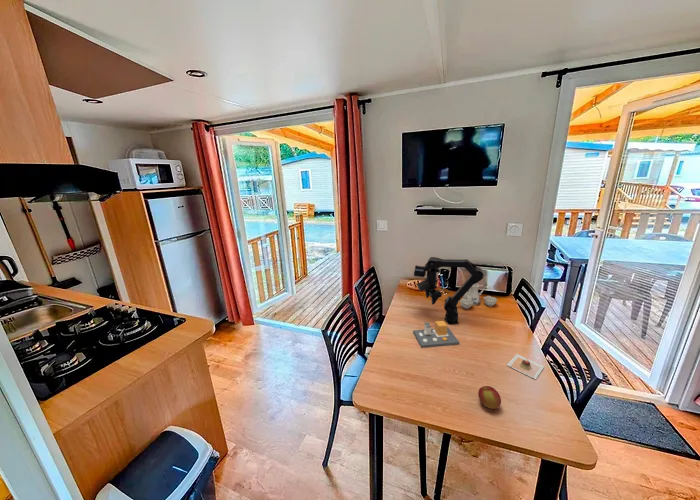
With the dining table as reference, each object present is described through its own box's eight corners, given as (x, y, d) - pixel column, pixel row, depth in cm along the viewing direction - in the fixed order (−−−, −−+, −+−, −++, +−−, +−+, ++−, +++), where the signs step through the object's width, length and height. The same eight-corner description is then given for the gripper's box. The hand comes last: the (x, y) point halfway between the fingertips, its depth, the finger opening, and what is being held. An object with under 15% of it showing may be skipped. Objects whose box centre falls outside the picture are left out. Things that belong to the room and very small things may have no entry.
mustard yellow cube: (434, 330, 154) (435, 321, 152) (442, 329, 154) (443, 320, 153) (438, 335, 149) (438, 326, 147) (446, 334, 150) (447, 325, 148)
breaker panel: (447, 329, 157) (448, 325, 156) (459, 344, 144) (459, 340, 143) (413, 332, 155) (413, 328, 155) (421, 347, 142) (421, 343, 141)
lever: (428, 330, 153) (428, 322, 151) (431, 335, 149) (431, 326, 147) (423, 331, 153) (423, 322, 151) (425, 335, 149) (426, 326, 147)
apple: (492, 396, 111) (494, 380, 108) (503, 413, 103) (506, 397, 101) (474, 397, 111) (476, 381, 108) (484, 414, 103) (486, 398, 101)
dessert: (535, 381, 119) (537, 372, 117) (506, 366, 127) (507, 358, 126) (544, 368, 126) (546, 359, 124) (516, 355, 135) (517, 347, 133)
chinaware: (463, 315, 175) (468, 293, 168) (449, 301, 189) (452, 281, 183) (499, 309, 181) (505, 287, 174) (483, 296, 196) (487, 276, 189)
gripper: (413, 273, 170) (412, 295, 175) (424, 285, 152) (422, 309, 157) (430, 271, 171) (429, 294, 175) (442, 283, 153) (441, 307, 158)
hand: (430, 300), depth 166 cm, fingers open, 9 cm apart
